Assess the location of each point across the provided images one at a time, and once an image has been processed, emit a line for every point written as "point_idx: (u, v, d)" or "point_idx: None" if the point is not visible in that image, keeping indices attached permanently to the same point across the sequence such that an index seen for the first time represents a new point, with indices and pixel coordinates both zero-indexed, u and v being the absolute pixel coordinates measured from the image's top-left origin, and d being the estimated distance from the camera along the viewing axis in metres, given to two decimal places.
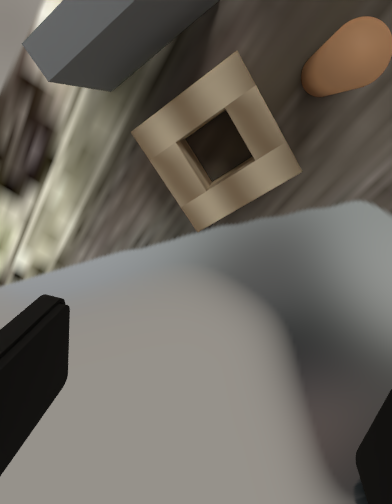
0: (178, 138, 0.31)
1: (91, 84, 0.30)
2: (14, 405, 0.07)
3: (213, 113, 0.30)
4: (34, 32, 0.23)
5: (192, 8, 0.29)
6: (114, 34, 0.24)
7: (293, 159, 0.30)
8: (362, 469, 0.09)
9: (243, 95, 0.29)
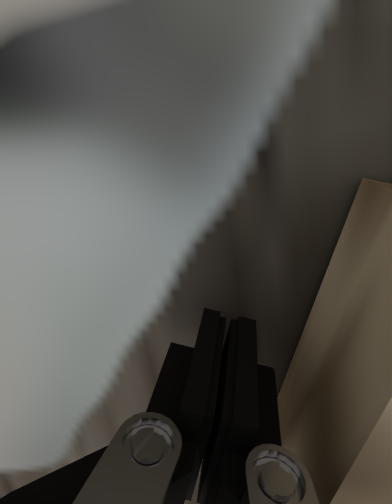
0: None
1: None
2: None
3: None
4: None
5: None
6: None
7: None
8: None
9: None
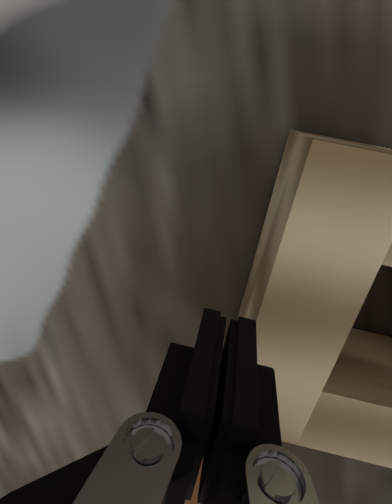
0: None
1: None
2: None
3: None
4: None
5: None
6: None
7: None
8: None
9: None
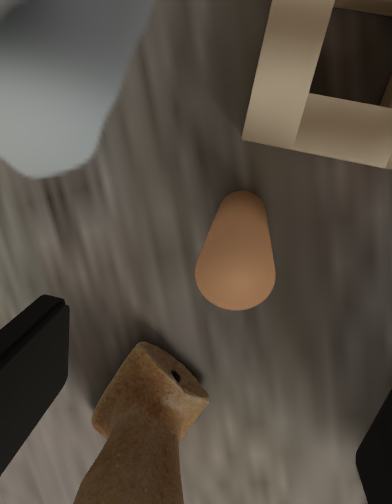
0: None
1: None
2: (14, 405, 0.07)
3: None
4: None
5: None
6: None
7: (264, 141, 0.20)
8: (362, 469, 0.09)
9: None
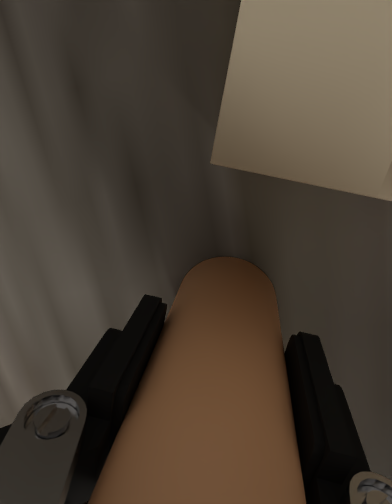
0: None
1: None
2: None
3: None
4: None
5: None
6: None
7: (285, 168, 0.06)
8: None
9: None
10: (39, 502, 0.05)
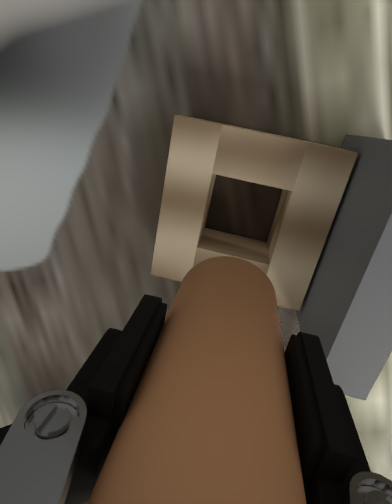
0: (292, 198, 0.22)
1: (367, 146, 0.20)
2: None
3: (275, 251, 0.24)
4: None
5: None
6: (357, 252, 0.18)
7: (168, 276, 0.26)
8: None
9: None
10: (39, 502, 0.05)
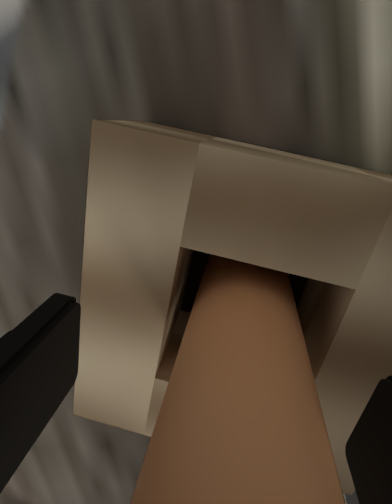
0: (353, 302, 0.10)
1: None
2: (29, 401, 0.08)
3: None
4: None
5: None
6: None
7: (104, 420, 0.14)
8: (351, 460, 0.09)
9: None
10: None
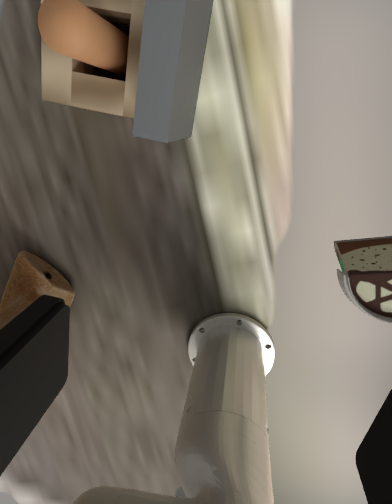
0: (131, 19, 0.30)
1: None
2: (14, 405, 0.07)
3: (127, 68, 0.32)
4: None
5: None
6: None
7: (54, 100, 0.34)
8: (362, 469, 0.09)
9: (122, 102, 0.33)
10: None
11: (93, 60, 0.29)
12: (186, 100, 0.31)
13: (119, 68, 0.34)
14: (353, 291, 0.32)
